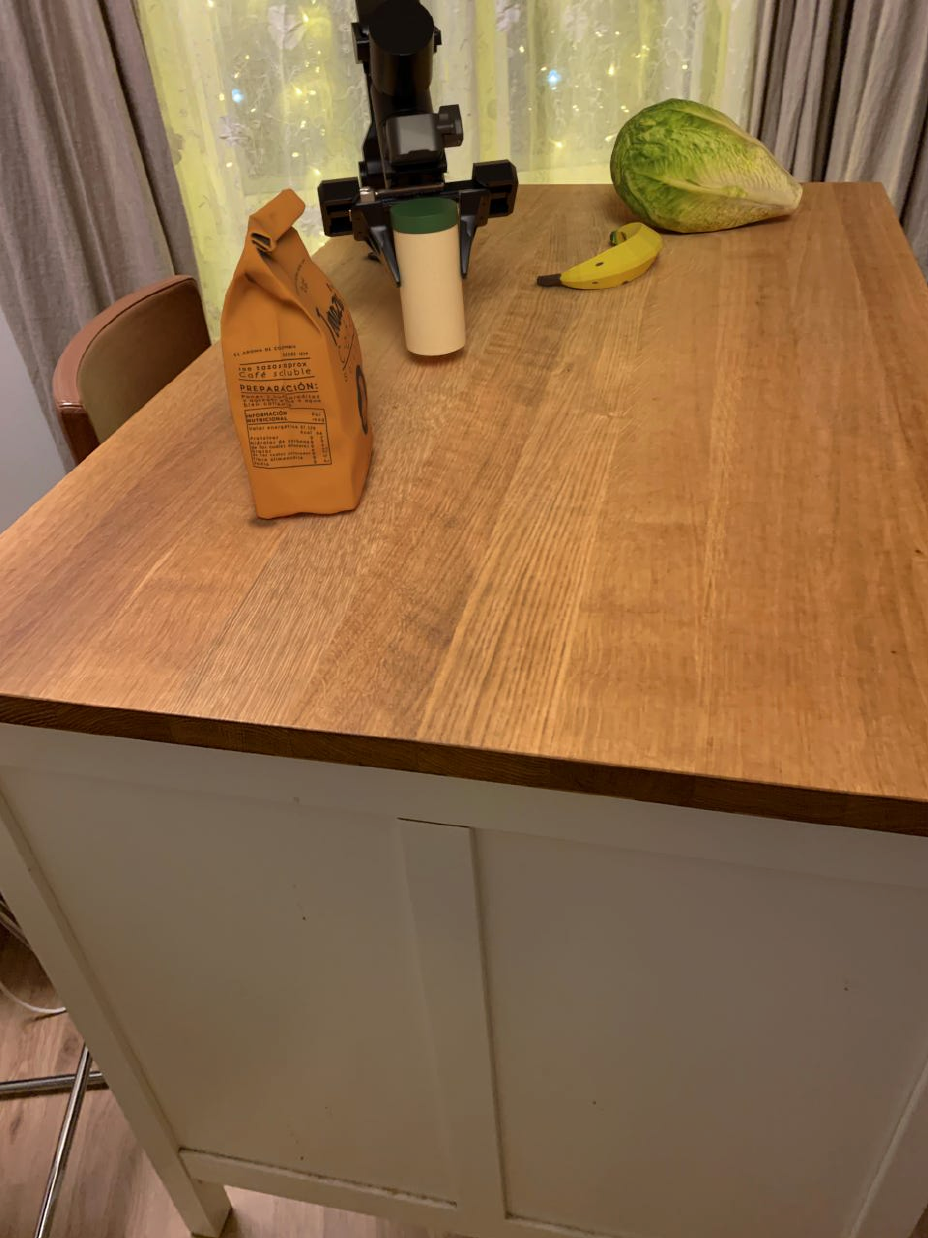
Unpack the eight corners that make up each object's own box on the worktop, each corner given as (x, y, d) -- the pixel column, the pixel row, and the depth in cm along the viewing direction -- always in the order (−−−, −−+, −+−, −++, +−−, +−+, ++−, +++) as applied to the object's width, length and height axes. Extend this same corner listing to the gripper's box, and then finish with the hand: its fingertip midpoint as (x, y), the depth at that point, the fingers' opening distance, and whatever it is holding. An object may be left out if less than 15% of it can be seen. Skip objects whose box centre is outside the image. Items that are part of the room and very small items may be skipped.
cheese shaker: (392, 346, 97) (375, 210, 89) (437, 326, 101) (425, 193, 93) (435, 361, 94) (421, 220, 86) (480, 340, 97) (471, 203, 89)
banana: (656, 207, 122) (537, 233, 125) (665, 240, 108) (531, 268, 111) (660, 244, 124) (544, 268, 127) (670, 282, 110) (538, 307, 113)
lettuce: (774, 235, 135) (776, 284, 124) (602, 182, 135) (588, 226, 124) (824, 123, 125) (832, 166, 113) (638, 66, 125) (627, 103, 113)
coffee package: (393, 449, 84) (358, 179, 71) (363, 527, 75) (315, 229, 61) (283, 450, 86) (228, 185, 73) (239, 525, 76) (165, 235, 63)
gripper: (300, 83, 85) (325, 249, 83) (510, 61, 87) (539, 224, 85) (313, 160, 96) (335, 308, 94) (499, 139, 98) (524, 285, 96)
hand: (431, 281), depth 92 cm, fingers closed on cheese shaker, 6 cm apart
